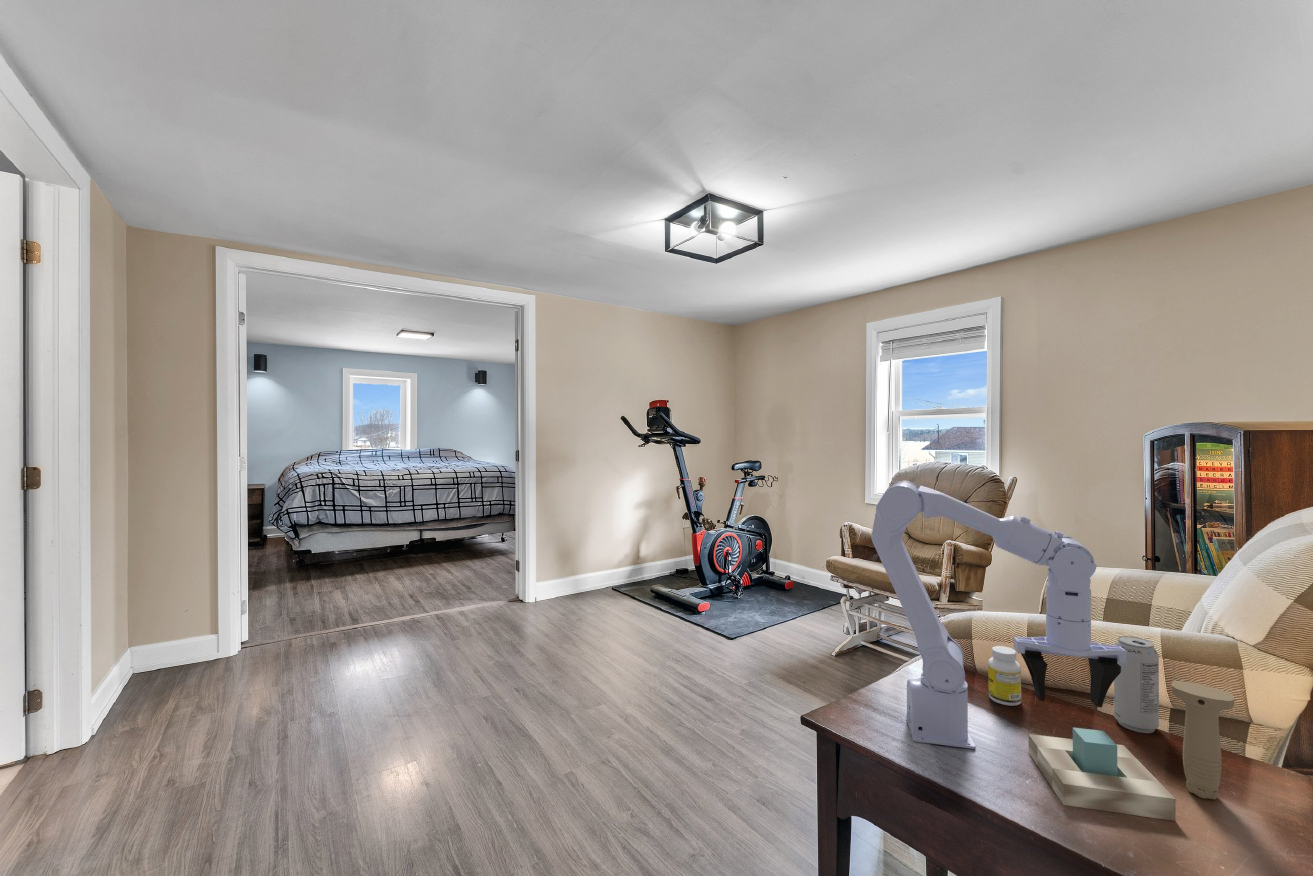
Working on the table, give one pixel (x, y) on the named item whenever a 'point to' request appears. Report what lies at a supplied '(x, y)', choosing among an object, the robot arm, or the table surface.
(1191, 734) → the handle
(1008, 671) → the supplement bottle
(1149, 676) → the energy drink can
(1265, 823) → the table surface
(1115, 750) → the peg
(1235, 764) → the table surface
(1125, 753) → the socket block
